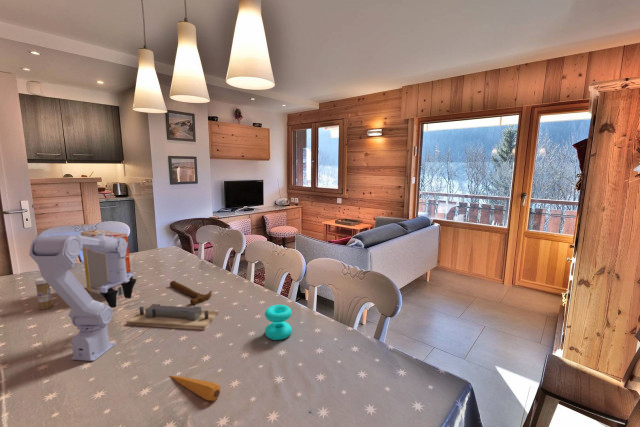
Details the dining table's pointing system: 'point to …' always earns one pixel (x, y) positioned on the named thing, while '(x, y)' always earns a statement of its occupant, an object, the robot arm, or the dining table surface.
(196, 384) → the carrot
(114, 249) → the robot arm
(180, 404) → the dining table surface
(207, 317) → the oak board
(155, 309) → the drawer pull handle
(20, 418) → the dining table surface
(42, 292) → the sprinkles bottle
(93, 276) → the pasta box
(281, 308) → the donuts
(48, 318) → the dining table surface
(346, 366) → the dining table surface
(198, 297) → the hammer
